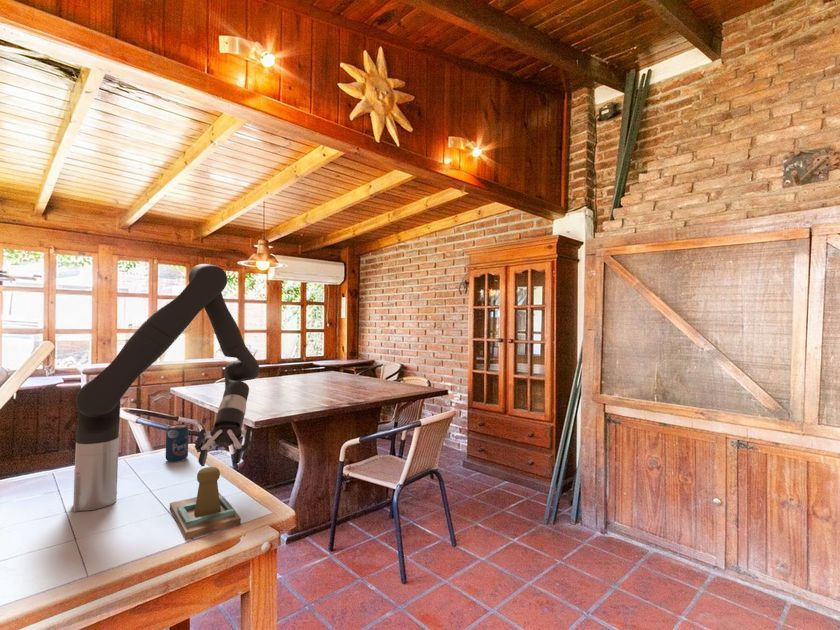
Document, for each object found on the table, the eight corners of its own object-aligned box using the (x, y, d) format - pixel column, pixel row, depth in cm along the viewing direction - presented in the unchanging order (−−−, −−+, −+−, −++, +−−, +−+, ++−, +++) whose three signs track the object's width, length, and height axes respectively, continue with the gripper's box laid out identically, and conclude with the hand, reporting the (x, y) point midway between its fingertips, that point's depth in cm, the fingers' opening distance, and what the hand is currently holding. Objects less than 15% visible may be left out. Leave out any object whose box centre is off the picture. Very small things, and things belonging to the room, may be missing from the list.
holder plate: (185, 539, 97) (186, 527, 97) (169, 508, 112) (170, 498, 112) (240, 524, 104) (240, 513, 104) (218, 497, 120) (218, 487, 120)
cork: (213, 518, 104) (214, 472, 104) (189, 517, 104) (190, 472, 104) (225, 507, 110) (226, 464, 110) (201, 506, 110) (202, 464, 110)
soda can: (175, 464, 146) (176, 429, 147) (160, 461, 149) (161, 427, 149) (192, 458, 153) (193, 424, 153) (178, 455, 155) (179, 422, 156)
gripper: (203, 406, 124) (187, 458, 112) (254, 406, 126) (243, 457, 115) (208, 420, 129) (193, 472, 118) (257, 419, 131) (248, 470, 120)
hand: (218, 464), depth 116 cm, fingers open, 8 cm apart
